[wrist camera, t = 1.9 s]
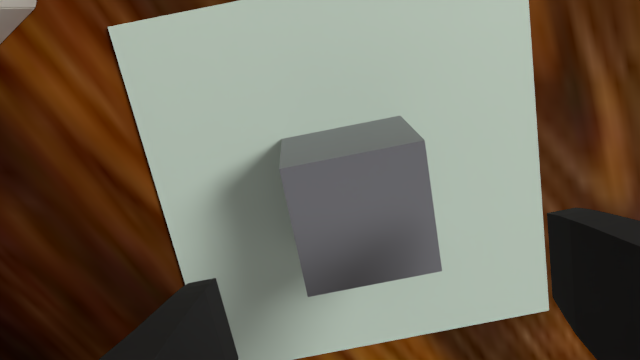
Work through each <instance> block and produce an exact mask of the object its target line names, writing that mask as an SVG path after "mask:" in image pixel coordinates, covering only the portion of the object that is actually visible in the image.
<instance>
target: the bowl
mask: <svg viewBox="0 0 640 360" xmlns="http://www.w3.org/2000/svg"><path fill="white" fill-rule="evenodd" d="M35 6H36V0H0V44H1V43H2V42H3V41H4V40H5V39H6V37H7V36H8V35H9V34H10V33H11V32H12V31H13V30H14V29H15V28H16V27H17V26H18V25H19V24H20V23H21V22H22V21H23V20H24V19H25V18H26V17H27V16H28V15H29V14H30V13H31V12H32V11H33V10H34V8H33V7H35Z"/></svg>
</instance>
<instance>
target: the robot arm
mask: <svg viewBox="0 0 640 360" xmlns="http://www.w3.org/2000/svg"><path fill="white" fill-rule="evenodd" d="M547 219H548V234H549V249H550V264H551V279H552V294H553V298H554V300H555V302H556V303H557V305H558V307H559V308H560V310H561V312H562V313H563V315H564V317H565V318H566V320H567V321H568V323H569V324H570V326H571V327H572V329H573V331H574V332H575V334H576V335H577V336H578V337H579V339H580V340H581V341H582V342H583V343H584V345H585V346H586V347H587V348H588V349H589V351H590V352H591V353H592V354H593V355H594V357H595V358H596V359H597V360H640V221H637V220H633V219H629V218H625V217H621V216H617V215H613V214H609V213H605V212H600V211H595V210H590V209H583V208H572V209H567V210H562V211H556V212H551V213H547ZM99 360H238V354H237V351H236V347H235V344H234V340H233V337H232V333H231V330H230V326H229V322H228V319H227V315H226V312H225V308H224V305H223V301H222V298H221V294H220V291H219V287H218V284H217V280H216V278H212V279H207V280H202V281H197V282H192V283H188V284H186V285H185V286H183V287H182V288H181V289H180V290H178V291H177V292H176V293H175V294H174V295H173V296H171V297H170V298H169V299H168V300H167V301H166V302H165V303H164V304H162V305H161V306H160V307H159V308H158V309H157V310H156V311H155V312H154V313H153V314H151V315H150V316H149V317H148V318H147V319H146V320H145V321H144V322H143V323H142V324H140V325H139V326H138V327H137V328H136V329H135V330H134V331H133V332H131V333H130V334H129V335H128V336H127V337H125V338H124V339H123V340H122V341H121V342H119V343H118V344H117V345H116V346H114V347H113V348H112V349H111V350H110V351H108V352H107V353H106V354H105V355H104V356H102V357H101V358H100V359H99Z"/></svg>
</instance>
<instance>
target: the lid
mask: <svg viewBox="0 0 640 360" xmlns="http://www.w3.org/2000/svg"><path fill="white" fill-rule="evenodd" d="M108 30H109V34H110V37H111V40H112V44H113V47H114V50H115V54H116V57H117V60H118V64H119V67H120V70H121V74H122V77H123V80H124V84H125V87H126V90H127V93H128V97H129V100H130V103H131V107H132V110H133V113H134V117H135V120H136V123H137V127H138V130H139V133H140V137H141V140H142V143H143V146H144V150H145V153H146V156H147V160H148V163H149V166H150V170H151V173H152V176H153V180H154V183H155V186H156V190H157V193H158V196H159V200H160V203H161V206H162V209H163V213H164V216H165V219H166V223H167V226H168V229H169V233H170V236H171V239H172V243H173V246H174V249H175V253H176V256H177V259H178V262H179V266H180V269H181V272H182V276H183V279H184V282H185V285H186V284H188V283H192V282H197V281H202V280H207V279H212V278H216V280H217V284H218V287H219V291H220V294H221V298H222V301H223V305H224V308H225V312H226V315H227V319H228V322H229V326H230V330H231V333H232V337H233V340H234V344H235V347H236V351H237V354H238V360H293V359H299V358H304V357H309V356H314V355H319V354H325V353H330V352H335V351H340V350H345V349H351V348H356V347H361V346H366V345H371V344H377V343H382V342H387V341H392V340H397V339H403V338H408V337H413V336H418V335H423V334H429V333H434V332H439V331H444V330H449V329H455V328H460V327H465V326H470V325H476V324H481V323H486V322H491V321H496V320H502V319H507V318H512V317H517V316H522V315H528V314H533V313H538V312H543V311H548V310H549V303H548V287H547V272H546V257H545V242H544V227H543V212H542V197H541V181H540V166H539V151H538V136H537V121H536V106H535V91H534V75H533V60H532V45H531V30H530V15H529V0H240V1H235V2H230V3H225V4H220V5H215V6H210V7H205V8H200V9H195V10H190V11H185V12H180V13H175V14H170V15H165V16H160V17H155V18H150V19H145V20H140V21H135V22H130V23H125V24H121V25H116V26H111V27H108Z"/></svg>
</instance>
